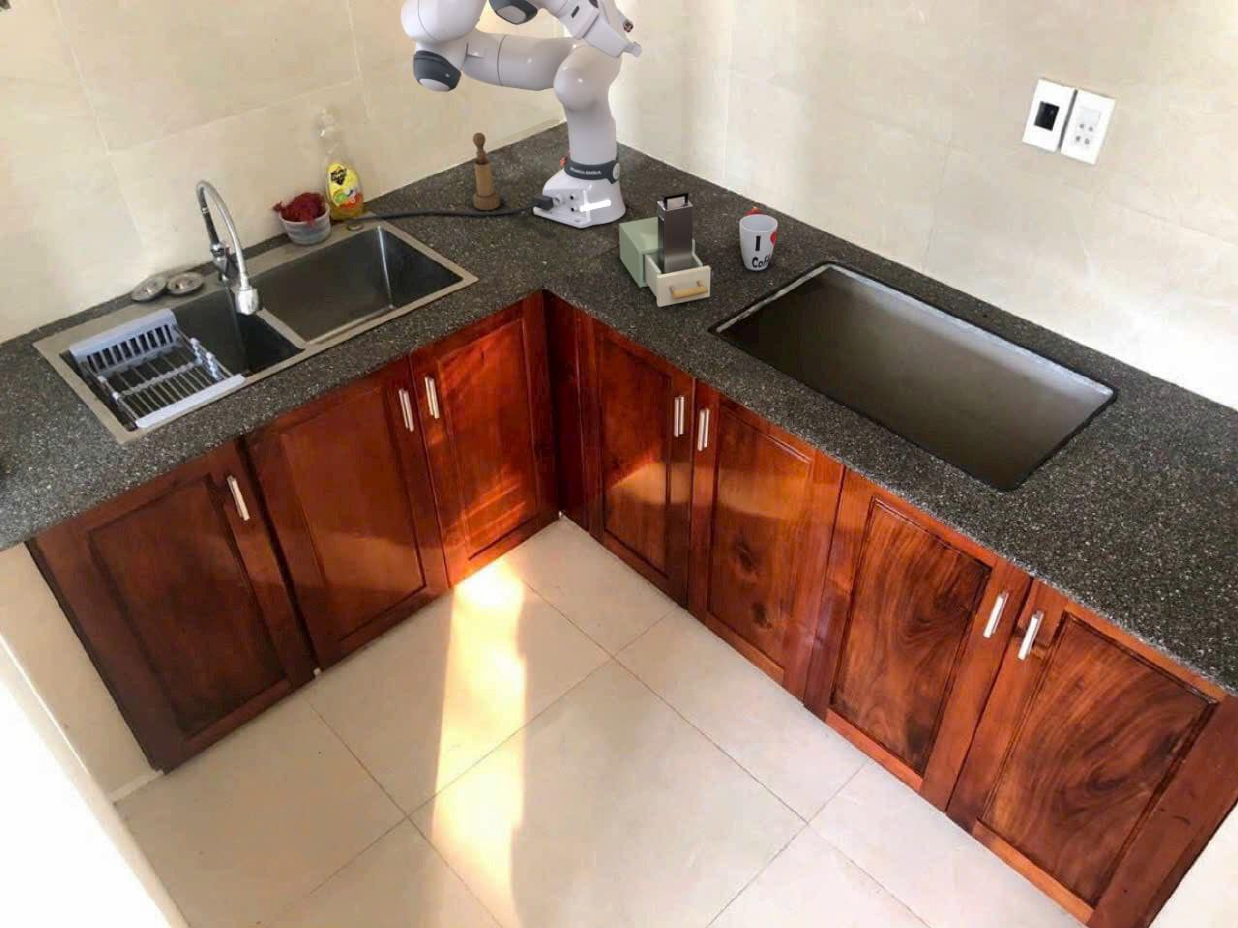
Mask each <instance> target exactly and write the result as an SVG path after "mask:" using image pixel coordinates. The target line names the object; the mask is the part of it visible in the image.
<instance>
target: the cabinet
mask: <svg viewBox="0 0 1238 928" xmlns="http://www.w3.org/2000/svg"><path fill="white" fill-rule="evenodd" d="M618 237H619V259H620V260H621V263H622V264H623V265H624V266H625V268H626V269H627V271H628V272H629V274H630V276H631V277H632V278H633V280H634V281H635V283H636V284H637V286H638V288H644V287H649V286H648V284H647V283H646V281H645V280H644V279H643V254H648V253H653V252H658V216H652V217H649V218H643V219H638V220H631V221H627V222H621V223H618ZM692 251H693V252H694V253H695V254H696V240H695V239H694V238H692Z"/></svg>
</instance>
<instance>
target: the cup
mask: <svg viewBox="0 0 1238 928" xmlns="http://www.w3.org/2000/svg"><path fill="white" fill-rule="evenodd" d="M777 231H778V221H777V219H776V218H775V217H772V216H771V215H767V214H765V215H759V214H756V215H749V216H746V217H745V216H743V217H742V218H741V219H740V220H739V245H740V253H741V258H742V261H743V265H744V266H745V268H747V269H748V270H752V271H762V270H764V269H766V268H767V267H768V265H769V264H770V261H771V258H772V255H773V253H774V247H775V243H776V239H777Z"/></svg>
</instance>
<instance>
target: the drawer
mask: <svg viewBox="0 0 1238 928" xmlns="http://www.w3.org/2000/svg"><path fill="white" fill-rule="evenodd" d="M643 279H644V280H645V281H646V283H647V284H648V286H647V287H649V289H650V290H651V292H652V293H653V295H654V296H655V297H656V305H657V307H658V308H661V307H665V306H670V305H675V304H681V303H685V302H691V301H695V300H699V299H705V298H710V297H711V266H709V265H704V263H703V262H702V261H701V260H700V258H699V257H698V255H697V254H696V252H695V253H694V252H693V251H692V269H688V270H683V271H677V272H672V273H667V274H662V275H661V271H660V270H659V268H658V252H653V253H648V254H643Z"/></svg>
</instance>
